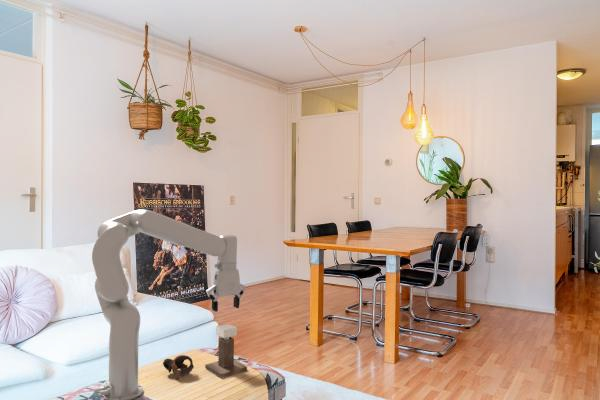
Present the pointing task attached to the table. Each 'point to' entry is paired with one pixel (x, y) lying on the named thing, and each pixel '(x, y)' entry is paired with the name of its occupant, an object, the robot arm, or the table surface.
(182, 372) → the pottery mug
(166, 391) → the table surface
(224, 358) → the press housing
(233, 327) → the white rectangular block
